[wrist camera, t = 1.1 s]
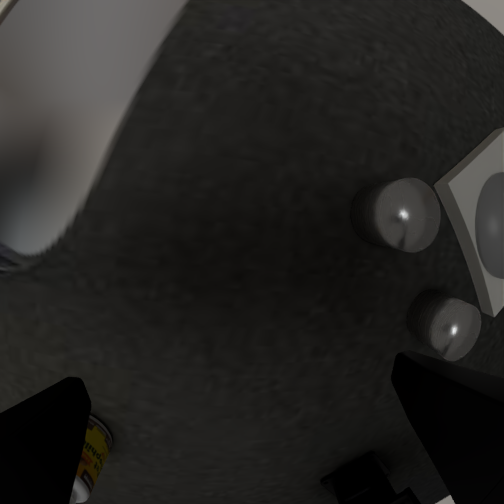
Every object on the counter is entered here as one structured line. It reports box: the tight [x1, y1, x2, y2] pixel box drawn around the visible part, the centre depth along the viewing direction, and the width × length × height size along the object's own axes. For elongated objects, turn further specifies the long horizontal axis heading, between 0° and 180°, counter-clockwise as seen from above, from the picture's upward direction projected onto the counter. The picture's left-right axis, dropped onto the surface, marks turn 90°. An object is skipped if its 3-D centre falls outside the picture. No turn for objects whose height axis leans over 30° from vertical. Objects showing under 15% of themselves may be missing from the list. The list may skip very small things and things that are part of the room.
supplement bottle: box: [69, 415, 112, 504], centre depth 17 cm, size 6×6×10 cm
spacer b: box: [351, 178, 440, 252], centre depth 18 cm, size 4×4×5 cm
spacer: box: [407, 289, 481, 361], centre depth 19 cm, size 4×4×5 cm
